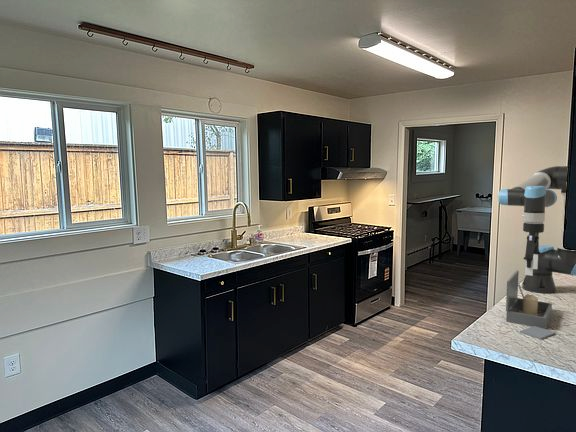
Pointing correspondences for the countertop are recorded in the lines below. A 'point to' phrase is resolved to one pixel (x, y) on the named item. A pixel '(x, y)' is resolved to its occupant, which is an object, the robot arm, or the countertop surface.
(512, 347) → the countertop surface
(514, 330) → the countertop surface
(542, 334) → the mat
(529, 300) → the candle
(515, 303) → the case
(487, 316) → the countertop surface
